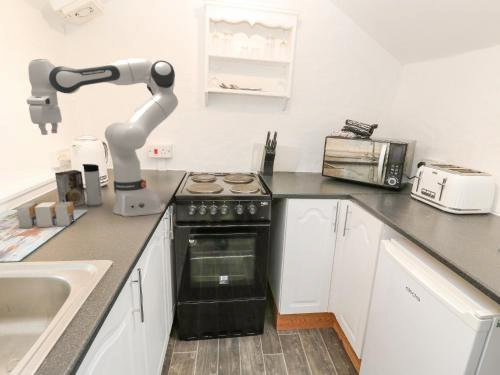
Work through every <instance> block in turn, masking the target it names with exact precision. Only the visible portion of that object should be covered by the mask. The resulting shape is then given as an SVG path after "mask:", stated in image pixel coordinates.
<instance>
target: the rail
mask: <svg viewBox="0 0 500 375" xmlns="http://www.w3.org/2000/svg"><path fill="white" fill-rule="evenodd" d="M36 206H38V204H37V202H25V203H22V204H21V205H19V206H17V207H16V208H15V209H16V213H17V218H18V219H17V220H18V225H19V228H20V229H23V228H33V227H34V226H35V227H38V225H37V219H36V213H35V207H36ZM55 211H56V216H54V217H52V219H53V226H57V227H69V226H71V223H73V222H75V221H76V220H75V218H76V216H75V207H74V205H73V202H61V203H57V206H55ZM72 220H73V221H72Z"/></svg>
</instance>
